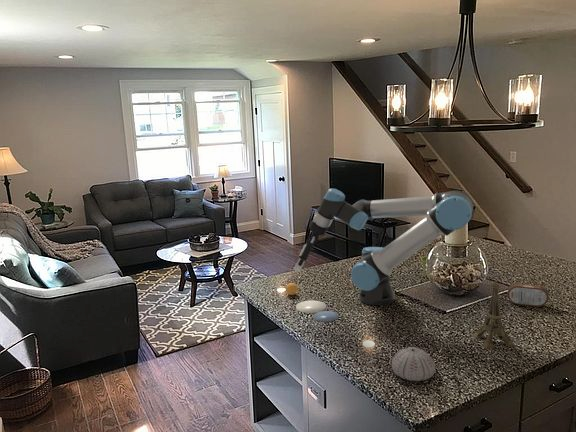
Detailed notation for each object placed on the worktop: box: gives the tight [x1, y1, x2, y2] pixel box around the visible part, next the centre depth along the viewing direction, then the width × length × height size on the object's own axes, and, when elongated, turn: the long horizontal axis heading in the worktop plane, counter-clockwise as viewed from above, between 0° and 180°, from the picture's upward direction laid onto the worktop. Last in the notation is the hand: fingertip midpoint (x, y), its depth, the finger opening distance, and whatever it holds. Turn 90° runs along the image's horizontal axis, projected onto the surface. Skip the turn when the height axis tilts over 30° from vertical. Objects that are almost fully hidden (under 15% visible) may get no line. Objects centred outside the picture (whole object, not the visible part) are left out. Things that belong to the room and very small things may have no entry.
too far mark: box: [313, 310, 339, 323], centre depth 192 cm, size 10×10×1 cm
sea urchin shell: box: [390, 346, 436, 382], centre depth 147 cm, size 13×14×8 cm
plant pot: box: [420, 255, 428, 277], centre depth 231 cm, size 9×9×9 cm
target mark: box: [295, 300, 327, 314], centre depth 203 cm, size 13×13×1 cm
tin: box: [506, 283, 549, 307], centre depth 192 cm, size 15×3×8 cm, turn 65°
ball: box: [285, 282, 299, 296], centre depth 217 cm, size 6×6×6 cm
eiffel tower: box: [471, 278, 517, 350], centre depth 163 cm, size 11×11×25 cm
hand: (299, 263), depth 204 cm, fingers open, 13 cm apart
